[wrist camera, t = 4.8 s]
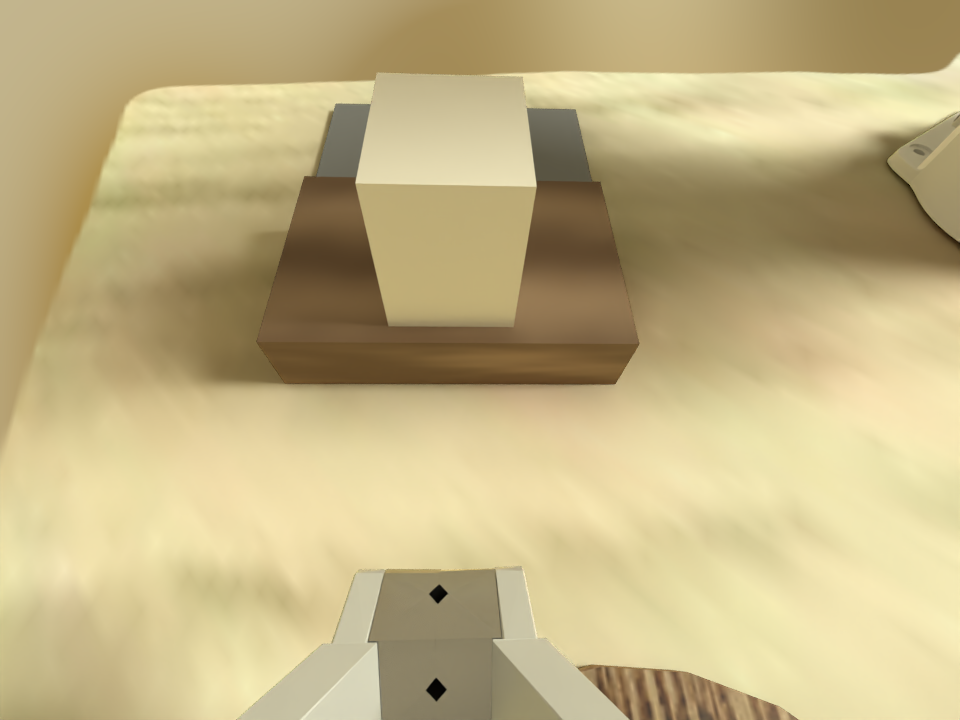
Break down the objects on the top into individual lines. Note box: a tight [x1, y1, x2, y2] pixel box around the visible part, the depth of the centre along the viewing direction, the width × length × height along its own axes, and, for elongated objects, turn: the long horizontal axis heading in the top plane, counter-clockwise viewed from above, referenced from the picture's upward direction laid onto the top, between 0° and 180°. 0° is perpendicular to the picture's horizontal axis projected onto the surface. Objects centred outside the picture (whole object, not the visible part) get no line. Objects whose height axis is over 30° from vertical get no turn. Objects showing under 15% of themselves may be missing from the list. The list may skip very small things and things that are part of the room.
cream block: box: [355, 73, 537, 327], centre depth 20 cm, size 7×6×8 cm
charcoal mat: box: [316, 104, 592, 182], centre depth 34 cm, size 14×20×1 cm
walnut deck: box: [257, 176, 639, 384], centre depth 26 cm, size 12×18×4 cm, turn 91°
